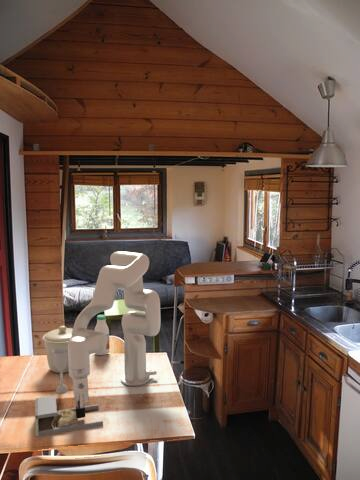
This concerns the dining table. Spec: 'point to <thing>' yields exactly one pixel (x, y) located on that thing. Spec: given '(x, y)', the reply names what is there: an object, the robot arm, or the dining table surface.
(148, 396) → the dining table surface
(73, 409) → the low barrier
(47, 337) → the canister
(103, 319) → the milk bottle
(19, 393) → the dining table surface
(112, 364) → the dining table surface
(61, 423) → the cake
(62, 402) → the dining table surface
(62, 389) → the chalice
